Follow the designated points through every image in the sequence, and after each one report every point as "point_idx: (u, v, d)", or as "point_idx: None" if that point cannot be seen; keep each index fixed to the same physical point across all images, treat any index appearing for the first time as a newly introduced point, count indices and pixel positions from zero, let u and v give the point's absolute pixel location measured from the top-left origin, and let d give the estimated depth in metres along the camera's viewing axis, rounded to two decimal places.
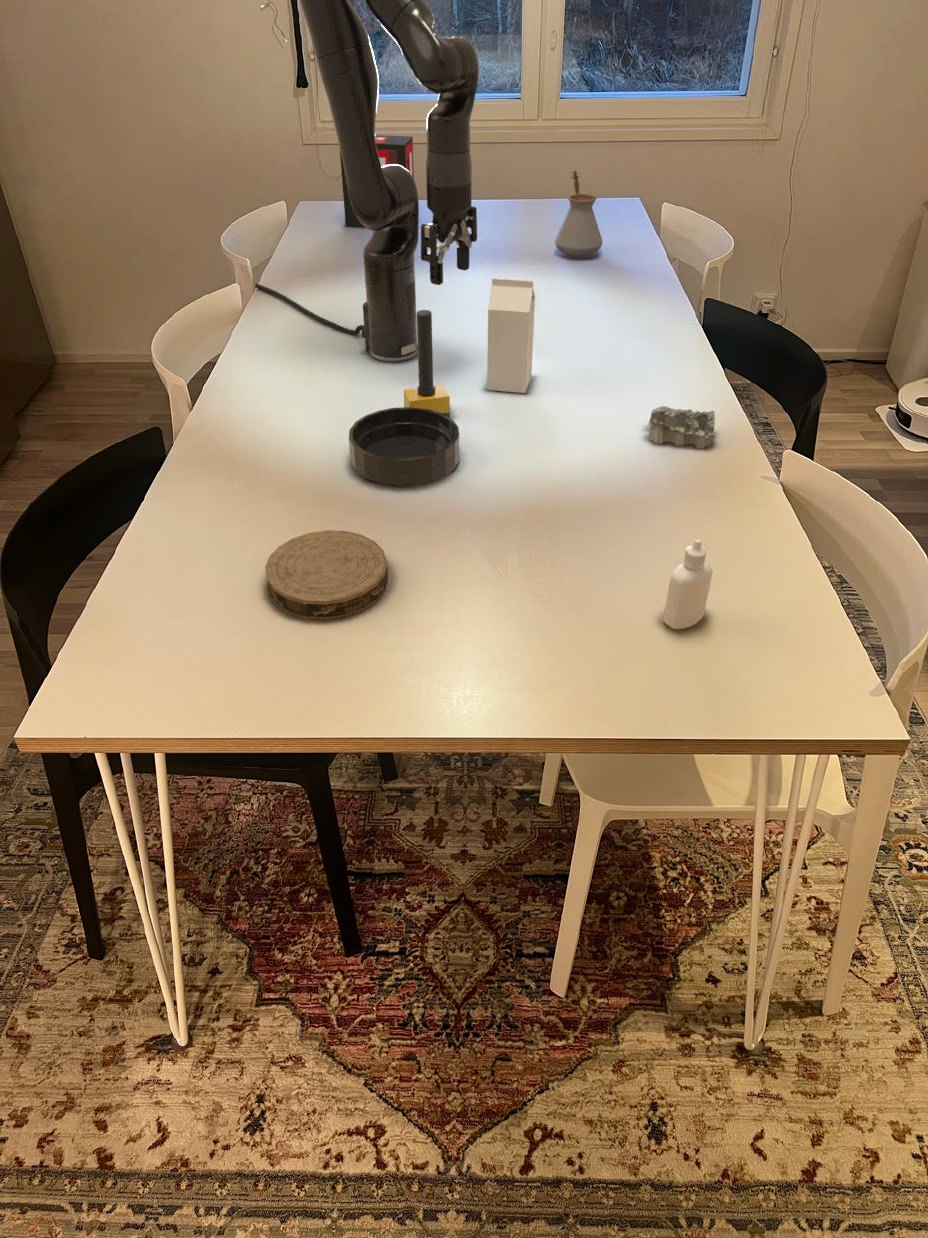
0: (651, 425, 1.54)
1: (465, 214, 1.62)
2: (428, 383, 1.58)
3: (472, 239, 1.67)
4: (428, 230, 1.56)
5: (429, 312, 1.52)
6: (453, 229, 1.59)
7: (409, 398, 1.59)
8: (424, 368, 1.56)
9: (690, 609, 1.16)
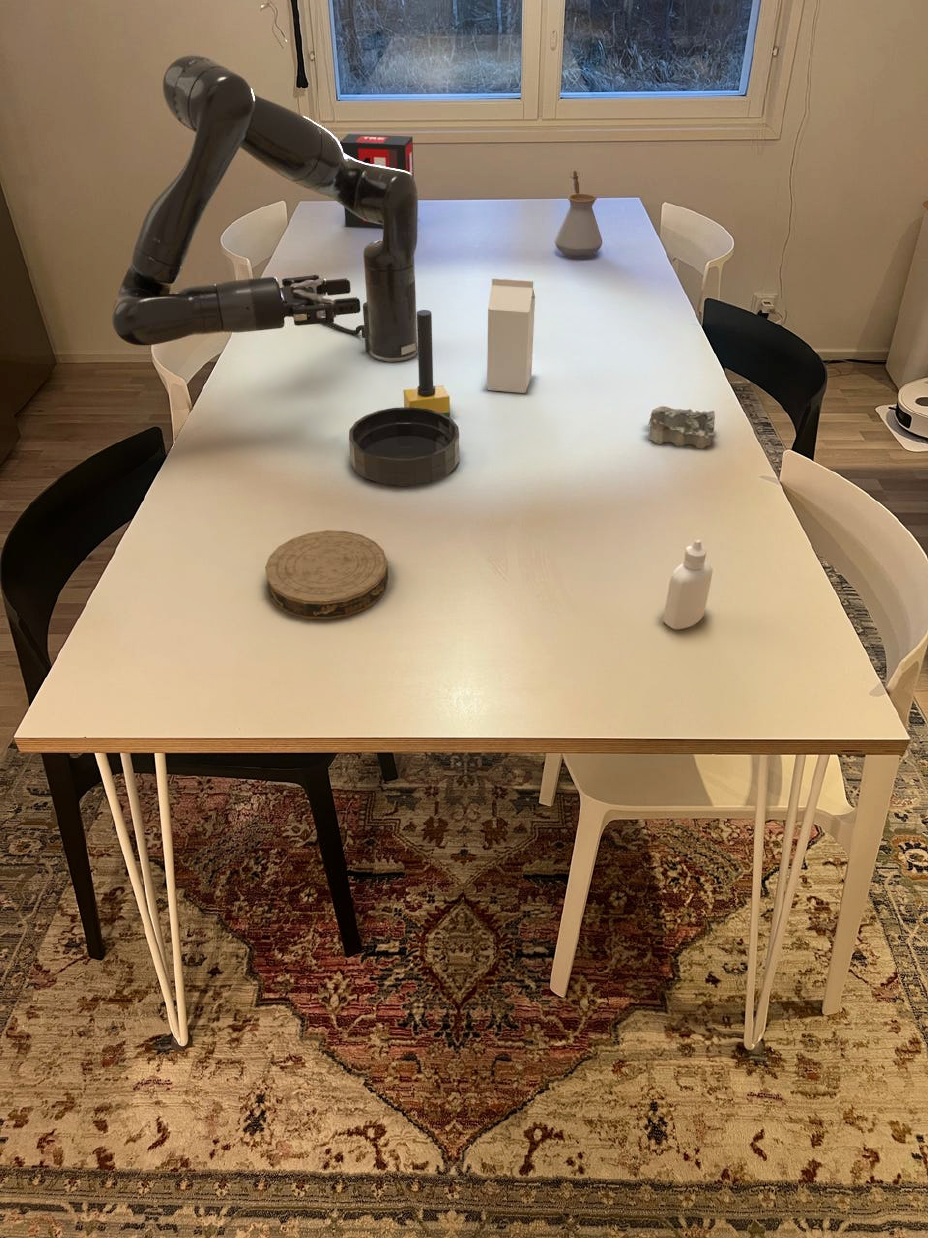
0: (651, 425, 1.54)
1: None
2: (428, 383, 1.58)
3: None
4: None
5: (429, 312, 1.52)
6: None
7: (409, 398, 1.59)
8: (424, 368, 1.56)
9: (690, 609, 1.16)
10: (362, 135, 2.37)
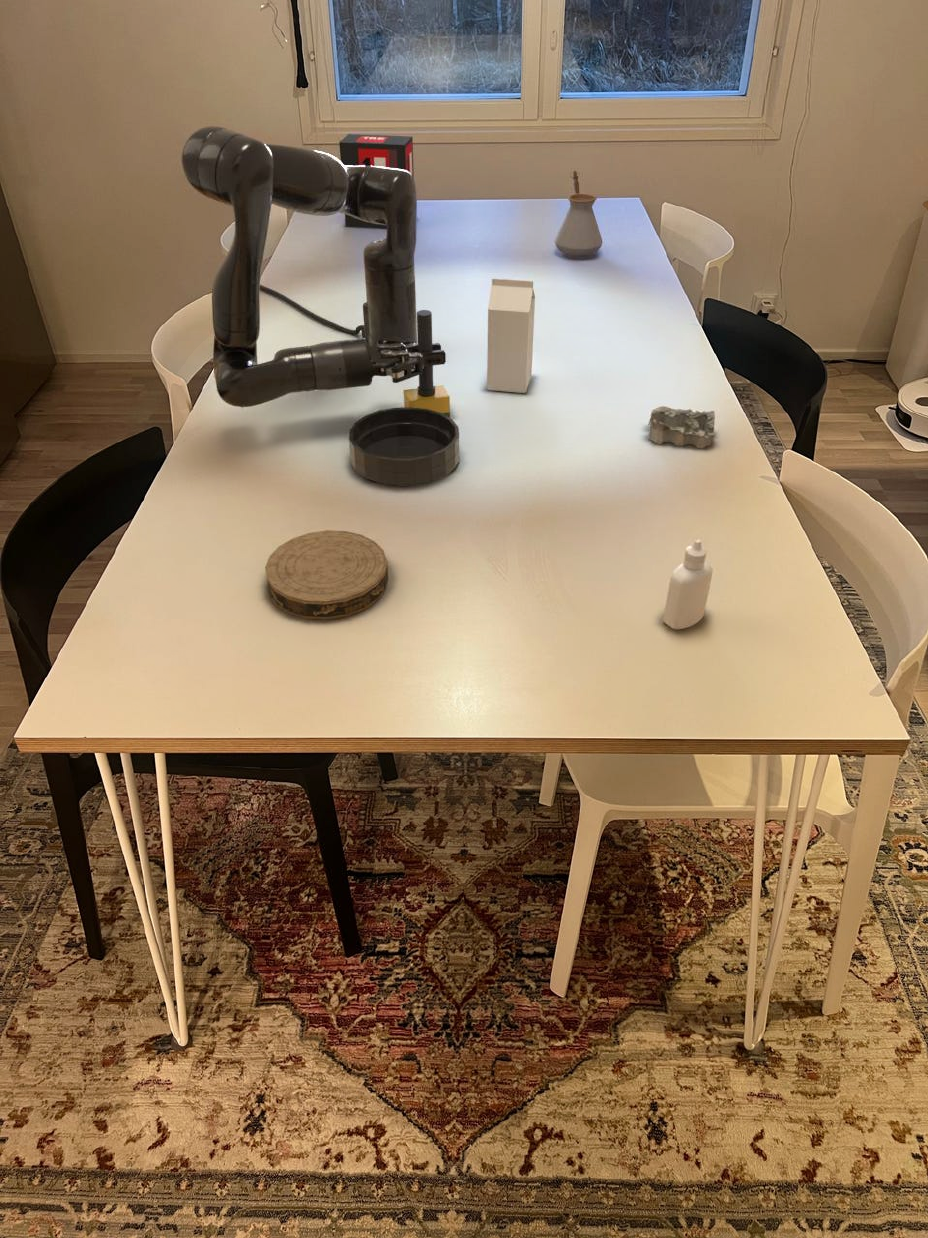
0: (651, 425, 1.54)
1: None
2: (428, 383, 1.58)
3: None
4: None
5: (429, 312, 1.52)
6: None
7: (409, 398, 1.59)
8: (424, 368, 1.56)
9: (690, 609, 1.16)
10: (362, 135, 2.37)
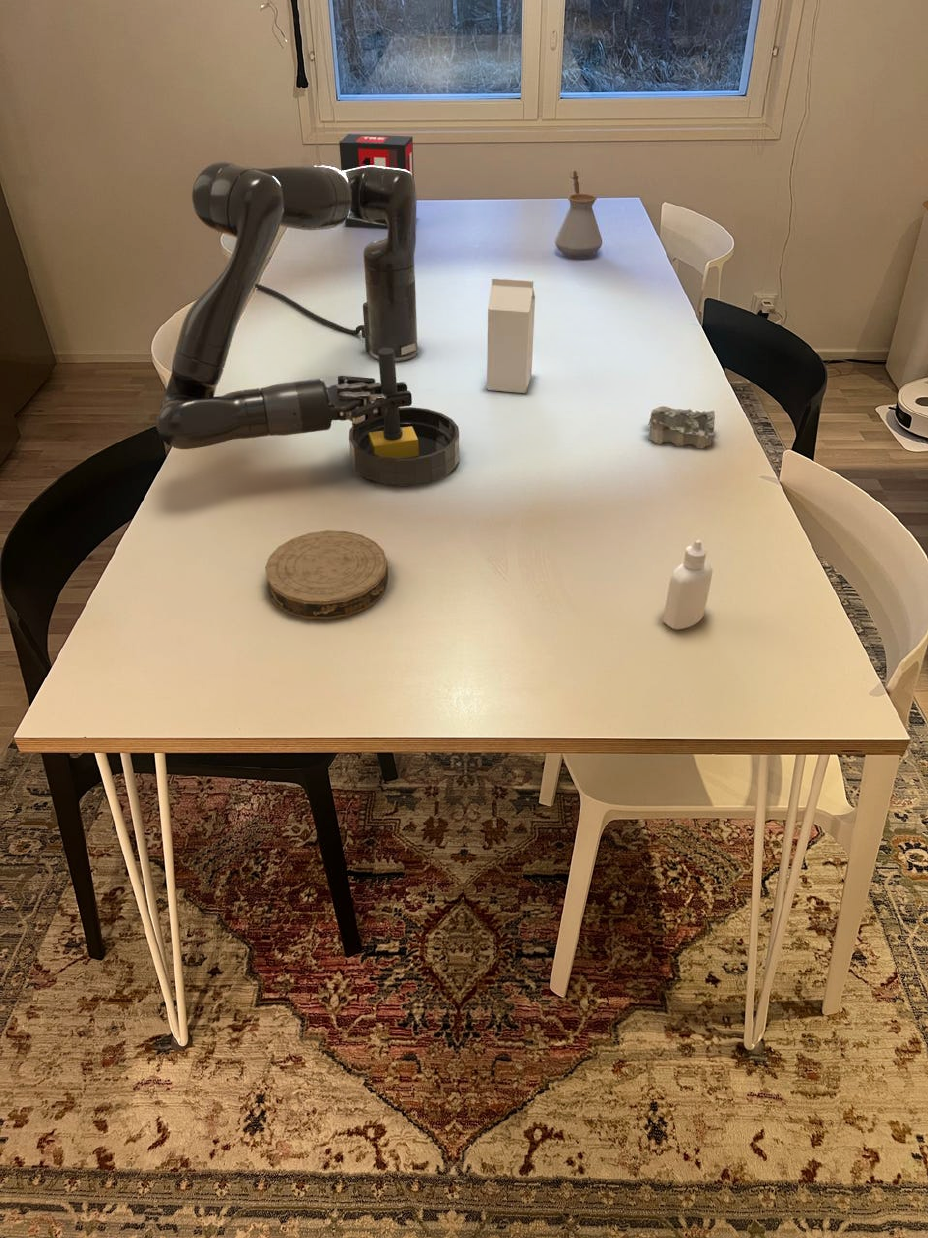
0: (651, 425, 1.54)
1: None
2: (394, 426, 1.45)
3: None
4: None
5: (391, 350, 1.38)
6: None
7: (374, 442, 1.46)
8: (389, 410, 1.43)
9: (690, 609, 1.16)
10: (362, 135, 2.37)
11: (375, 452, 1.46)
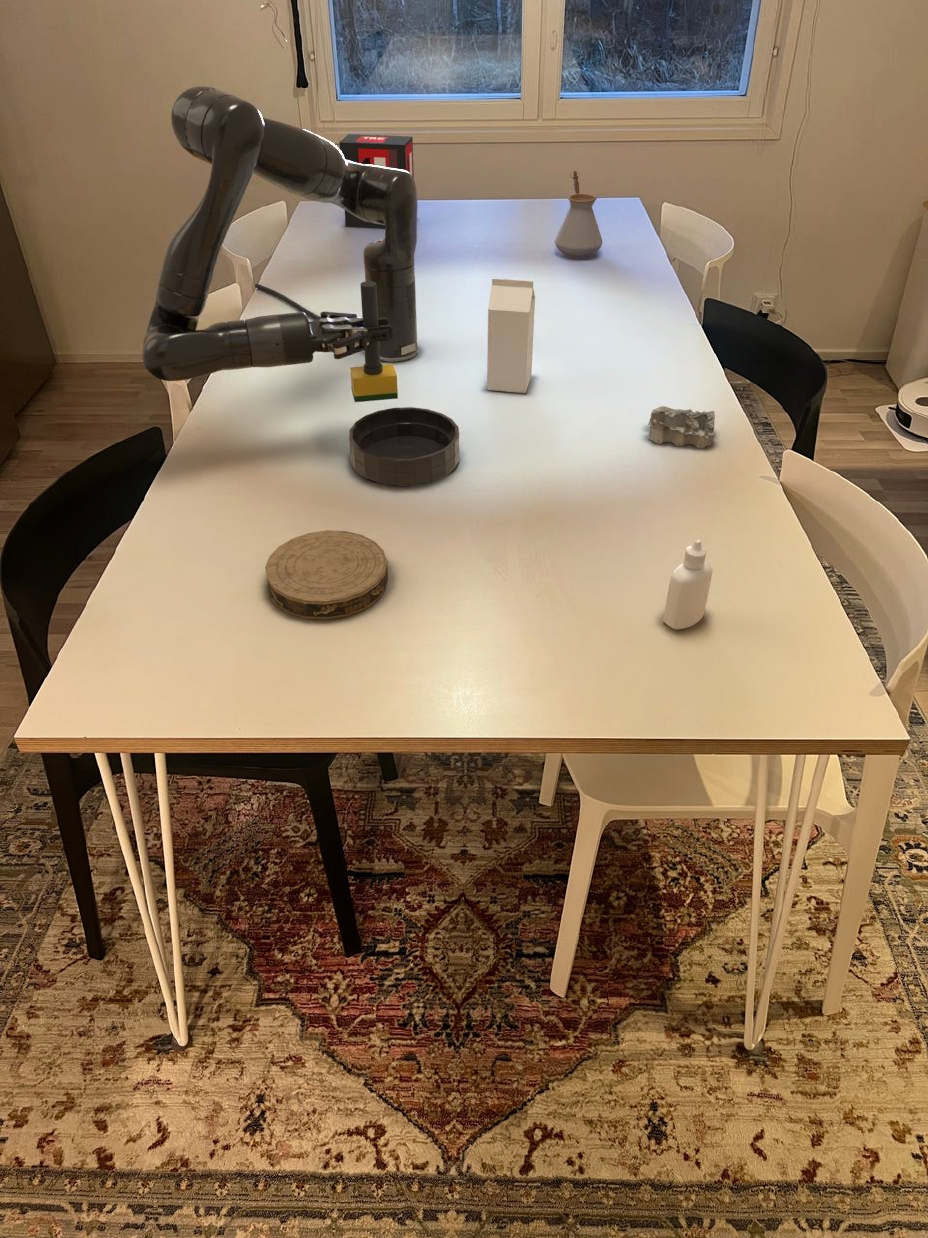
0: (651, 425, 1.54)
1: None
2: (374, 360, 1.48)
3: None
4: None
5: (374, 283, 1.42)
6: None
7: (353, 376, 1.49)
8: (369, 344, 1.47)
9: (690, 609, 1.16)
10: (362, 135, 2.37)
11: (354, 385, 1.49)
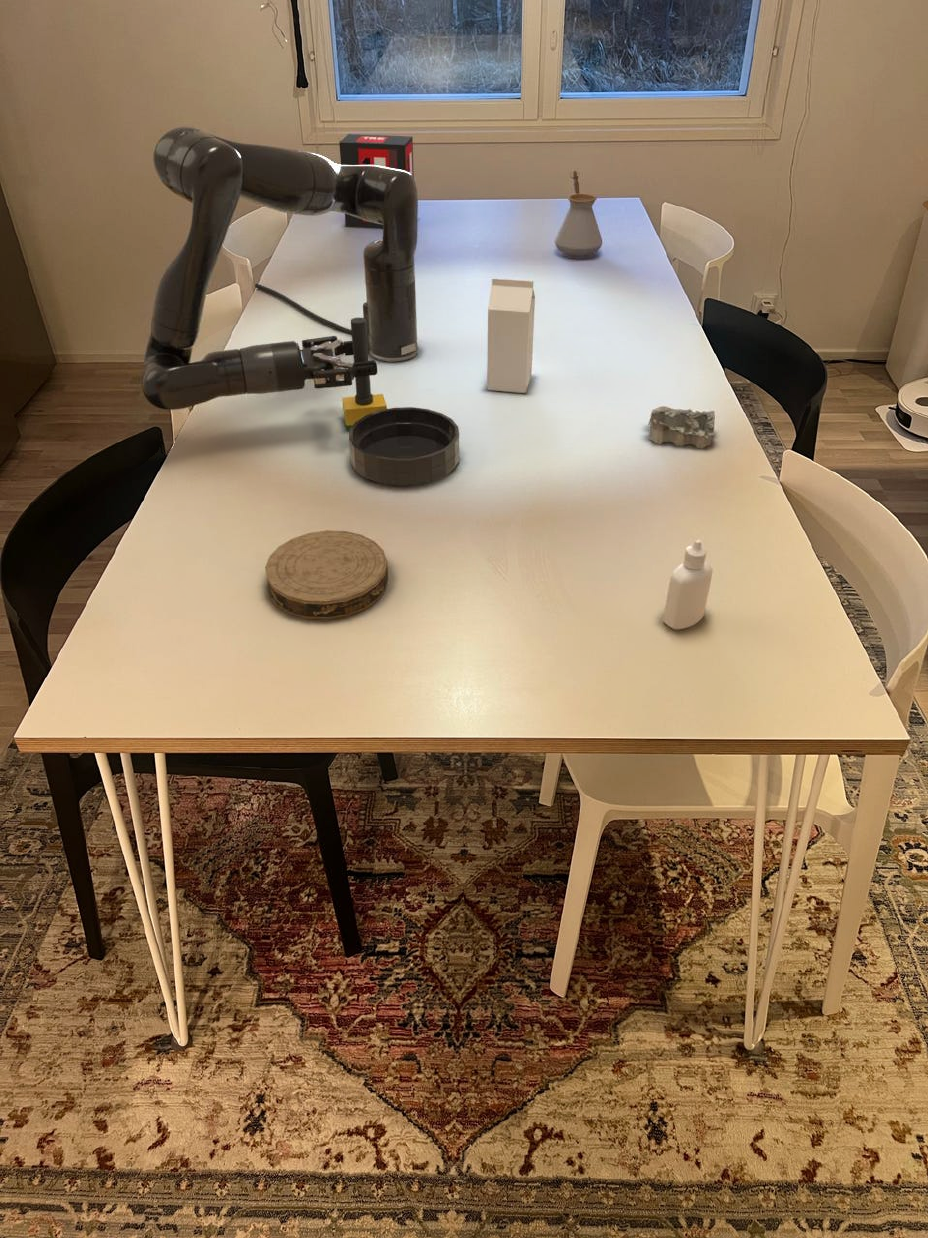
0: (651, 425, 1.54)
1: None
2: (364, 392, 1.56)
3: None
4: None
5: (363, 320, 1.49)
6: None
7: (345, 406, 1.57)
8: None
9: (690, 609, 1.16)
10: (362, 135, 2.37)
11: (346, 415, 1.57)
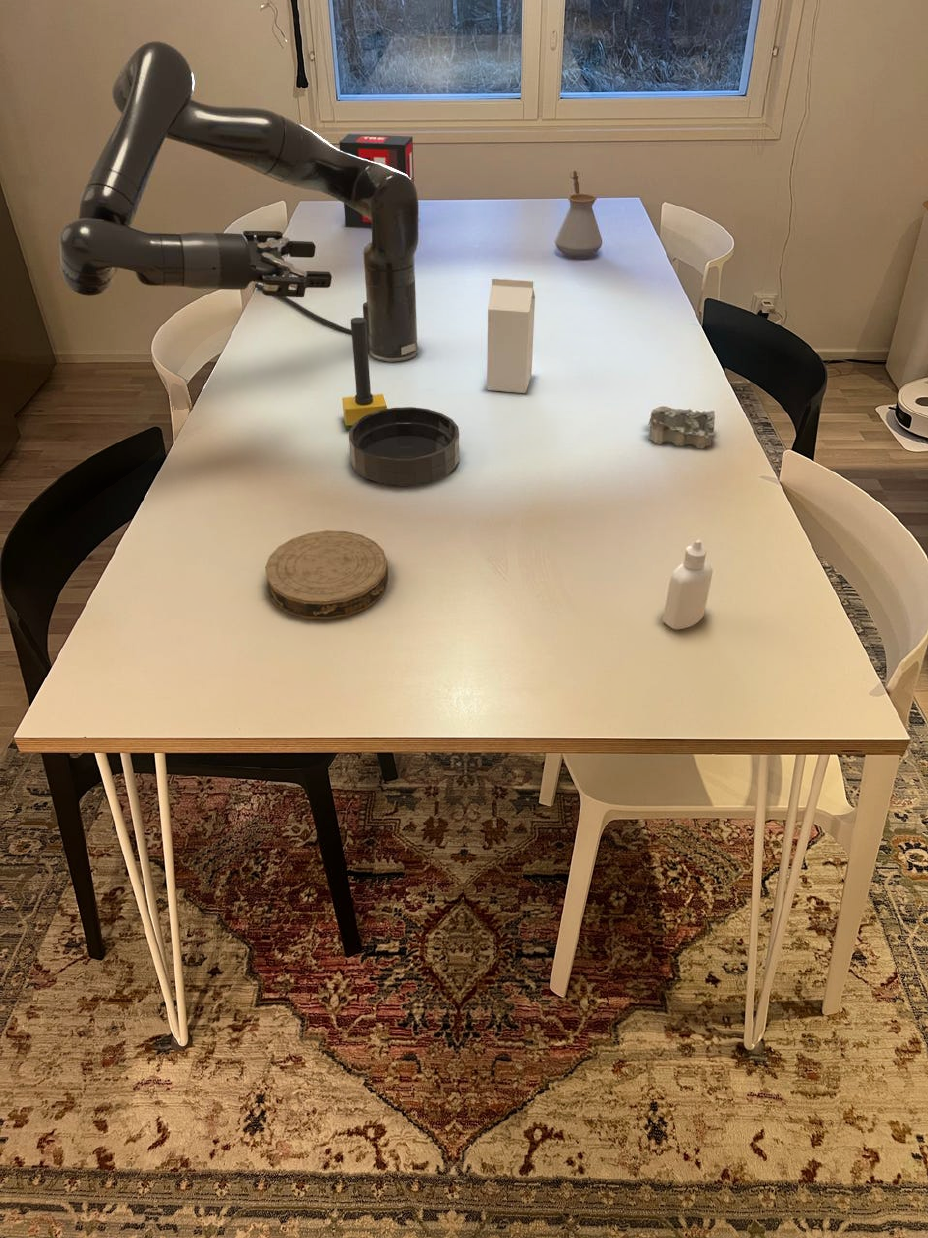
0: (651, 425, 1.54)
1: None
2: (364, 392, 1.56)
3: None
4: None
5: (363, 320, 1.49)
6: None
7: (345, 406, 1.57)
8: (360, 376, 1.54)
9: (690, 609, 1.16)
10: (362, 135, 2.37)
11: (346, 415, 1.57)
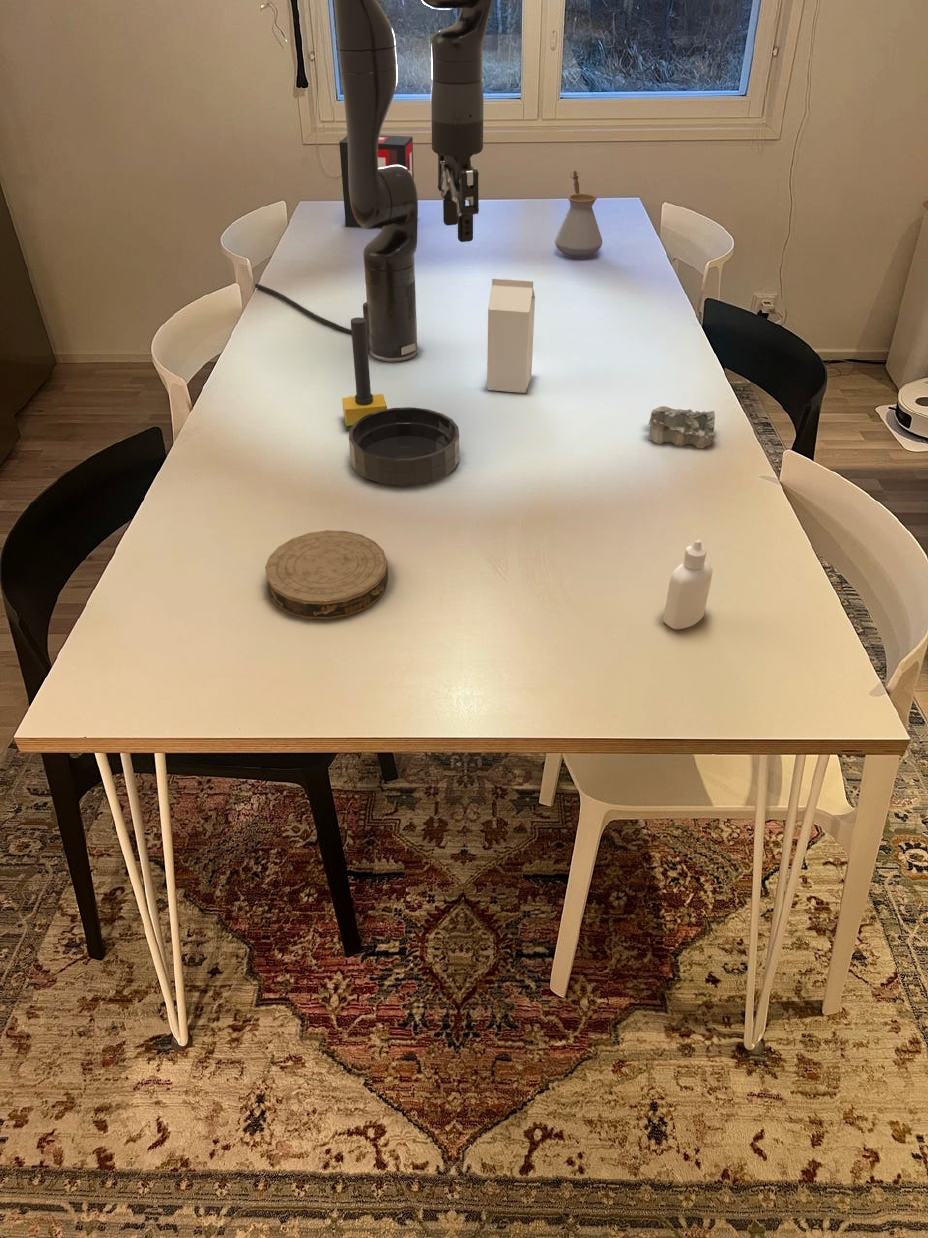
0: (651, 425, 1.54)
1: (456, 169, 1.36)
2: (364, 392, 1.56)
3: None
4: None
5: (363, 320, 1.49)
6: (441, 169, 1.40)
7: (345, 406, 1.57)
8: (360, 376, 1.54)
9: (690, 609, 1.16)
10: None
11: (346, 415, 1.57)
